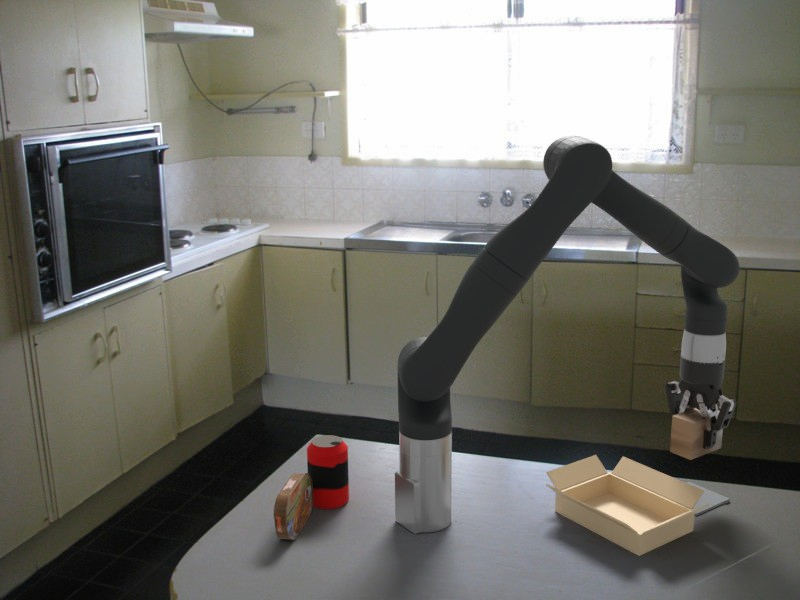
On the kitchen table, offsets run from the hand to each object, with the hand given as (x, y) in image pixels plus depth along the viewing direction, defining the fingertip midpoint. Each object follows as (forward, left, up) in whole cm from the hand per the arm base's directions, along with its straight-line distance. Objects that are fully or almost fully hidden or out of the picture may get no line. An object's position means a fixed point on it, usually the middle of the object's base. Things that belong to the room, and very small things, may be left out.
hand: (696, 443), depth 159 cm
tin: (-65, +35, -12) cm, 75 cm away
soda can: (-55, +40, -12) cm, 69 cm away
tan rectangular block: (0, 0, -1) cm, 1 cm away
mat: (0, 0, -11) cm, 11 cm away
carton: (-17, +2, -11) cm, 20 cm away
